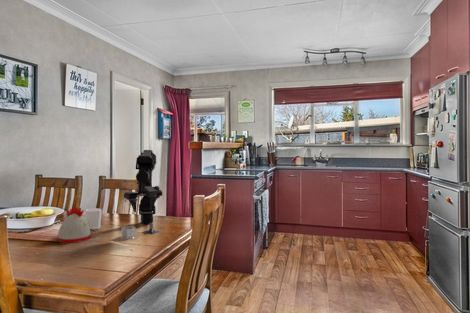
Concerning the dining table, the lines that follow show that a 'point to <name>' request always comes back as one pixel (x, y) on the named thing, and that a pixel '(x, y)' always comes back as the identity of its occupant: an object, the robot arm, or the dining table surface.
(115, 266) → the dining table surface
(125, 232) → the collar
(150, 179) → the robot arm
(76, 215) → the chicken hat
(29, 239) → the dining table surface
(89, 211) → the white cup
